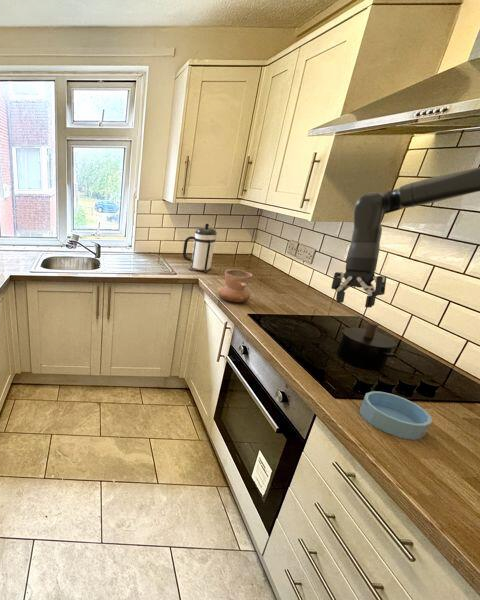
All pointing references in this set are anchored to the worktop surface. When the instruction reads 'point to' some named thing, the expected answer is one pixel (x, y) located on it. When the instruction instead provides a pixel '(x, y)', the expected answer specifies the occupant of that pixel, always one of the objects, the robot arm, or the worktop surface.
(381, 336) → the lid
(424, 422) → the blue round dish
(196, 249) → the coffee press
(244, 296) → the ceramic jug
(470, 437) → the worktop surface
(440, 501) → the worktop surface
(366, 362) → the pot
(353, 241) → the robot arm
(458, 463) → the worktop surface
